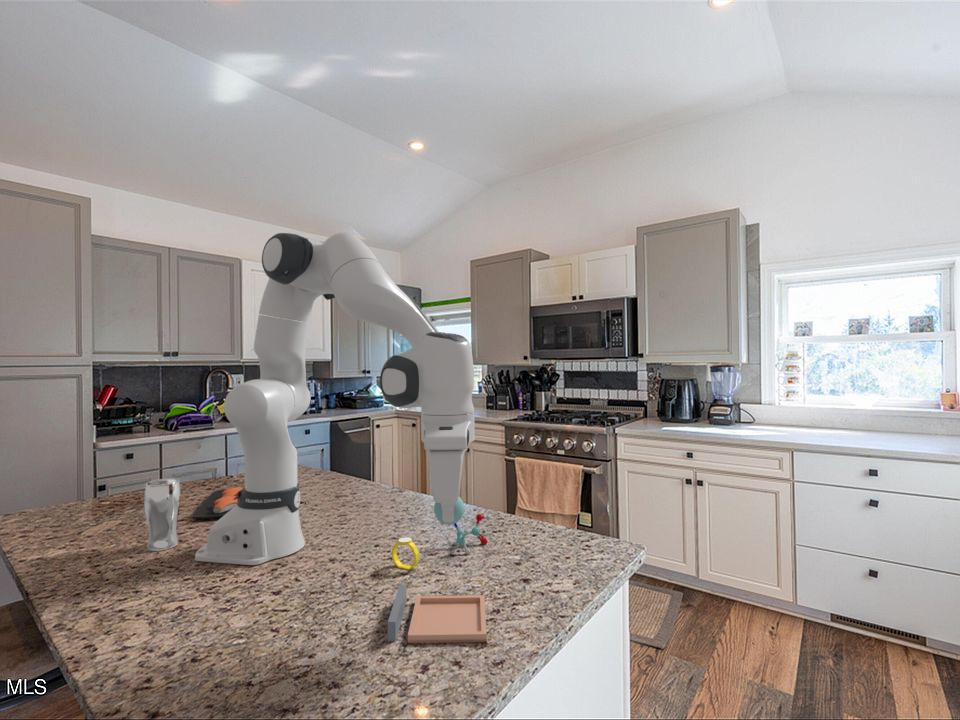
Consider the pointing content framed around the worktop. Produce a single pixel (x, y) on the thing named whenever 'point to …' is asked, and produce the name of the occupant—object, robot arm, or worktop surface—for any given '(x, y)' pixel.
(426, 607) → the dish
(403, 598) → the block
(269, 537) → the robot arm
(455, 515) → the ball
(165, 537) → the beer glass
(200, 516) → the sushi plate
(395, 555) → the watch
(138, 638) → the worktop surface
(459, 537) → the molecular model
